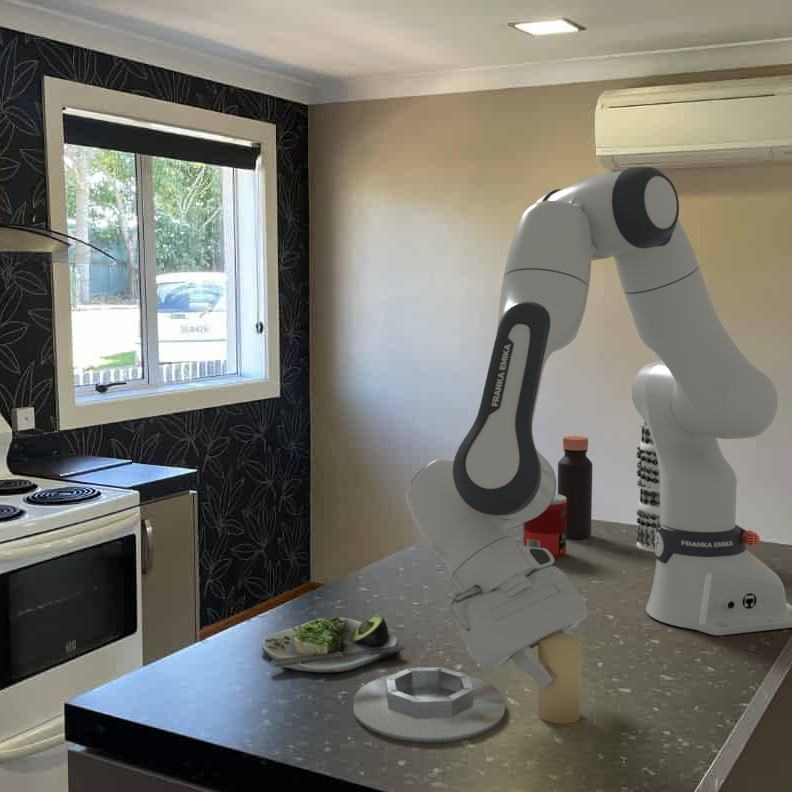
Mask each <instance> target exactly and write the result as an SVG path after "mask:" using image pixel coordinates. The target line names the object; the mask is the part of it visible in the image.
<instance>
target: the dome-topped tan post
mask: <svg viewBox="0 0 792 792" xmlns="http://www.w3.org/2000/svg"><path fill="white" fill-rule="evenodd" d="M582 651H583V640H582V639H581V638H580V637H578V636H577V635H575V634H574V635H570V634H564V633H553V634H551V635H549V636H547V637H545V638H543V639H541V640H539V641H538V646H537V654H538V655H537V657H538V658H537V661H539V662H540V663H541V664H542V665H543V666H544V667H546V666H548V665H549V667H550V668H551V669H552V672H553V673H554V674H555V675H556V680H555V681H554V682H552V683H551V684H550V685H548V686H547V687H545V688H540V687H539V685H538V684H537V717H539V719H541V720H542V721H545V722H546V723H550V724H555V725H568V724H569V725H570V724H573V723H576V722H578V721H579V720H580V719H581V716H582V714H581V713H582V711H581V710H582V666H583V665H582V657H583V656H582V655H583V654H582V653H583V652H582Z"/></svg>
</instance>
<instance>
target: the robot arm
mask: <svg viewBox="0 0 792 792" xmlns="http://www.w3.org/2000/svg"><path fill="white" fill-rule="evenodd" d="M679 214H680V201H679V197H678V193H677V190H676V188H675V186H674V183H673V182H672V181H671V180H670V178H669V177H668V176H667V175H665V174H664V172H663V171H661V170H660V169H658V168H656V167H651V166H632V167H627V168H626V169H624V170H619V171H614V172H606V173H602V174H598V175H593V176H590V177H587V178H586V179H584V180H582V181H579V182H577V183H573V184H571V185H569V186H566V187H564V188H562V189H561V188H559V189H554V190H552V191H550V192H547V193H546V194H545V195H543V196H541V197H540V198H539V199H537V201H535V202H534V203H533V204H532V205H531V206H529V207H528V208H527V209H526V210H525V211H524V212H523V214H522V215H521V217H520V219H519V221H518V224H517V227H516V229H515V233H514V235H513V237H512V241H511V244H510V248H509V251H508V255H507V260H506V264H505V268H504V274H503V278H502V285H501V291H500V297H499V299H500V300H499V306H498V307H499V308H498V318H497V320H498V321H497V328H496V335H495V341H494V343H493V349H492V352H491V357H490V361H489V366H488V369H487V373H486V380H485V383H484V387H483V392H482V397H481V401H480V406H479V408H478V413H477V416H476V418H475V420H474V422H473V424H472V426H471V428H470V429H469V431H468V433H467V434H466V435H465V437H464V438H463V440H462V441H461V443H460V445H459V447H458V448H457V452H456V454H455V457H454V458H446V457H440V458H436V459H434V460H432V461H431V462H429V463H428V464H426V465H425V466H423V468H421V469H420V470H419V471H418V473H417V474H416V475H415V476H414V477H413V478H412V480H411V482H410V484H409V487H408V489H407V491H406V492H407V493H406V503H407V507H408V510H409V513H410V514H411V517H412V519H413V520H414V522H415V524H416V526H417V528H418V530H419V532H420V533H421V534H422V536H423V537H424V539H425V540H426V542H427V543H428V545H429V547H430V548H431V549H432V551H433V552H434V553H435V554H436V555H438V556H439V557H440V558H441V559H442V560H443V562H444V563H445V565H446V567H447V569H448V573H449V576H450V577H451V579H452V581H453V582H454V583H455V585H456V586H457V588H458V589H459V591H460V592H456V593H455V594H453V595H452V596H450V597H451V600H450V603H449V608H448V609H449V612H450V614H451V616H452V617H453V619H454V620H455V625H456V628H457V630H458V633H459V635H460V637H461V639H462V641H463V643H464V645H465V647H466V649H467V650H468V652H469V653H470V655H471V658H472V659H473V660H474V662H475V663H476V665H477V666H478V667H480V668H481V669H483V670H484V671H486V672H489V671H491V670H494V669H495V668H498V667H499V666H501V665H502V664H505V663H506V662H509V661H510V660H512V661H513V663H514V665H515V666H516V667H517V668H518V669H519V670H521V671H522V672H524V673H525V674H527V675H528V676H530V677H531V678H532V679H533V680H534V681H535V683H536V685H537V686H538V685H539V687H540V688H545V687H547V686H548V685H550V684H551V683H552V682H554V681H555V680H556V675H555V674H554V673H553V672H552V669H551V668H550V667H549V665H548V666H546V667H544V666H543V665H542V664H541V663H540V662H539V661H538V659H536V658H535V657H534V656H535V652H534V650H533V649H534V648H536V647H538V641H539V640H541V639H543V638H545V637H547V636H549V635H551V634H553V633H564V634H570V635H574V636H575V634H574V632H573V630H572V629H573V628H574V627H576V626H577V625H579V623H582V621H584V619H585V618H587V617H588V615H589V613H588V612H589V611H588V608H587V603H586V601H585V600H584V599H583V597H582V596H581V594H580V593H579V591H578V590H577V589H576V587H575V585H574V584H573V583H572V582H571V580H570V579H569V578H568V577H567V575H566V574H565V573H564V572H563V571H562V570H561V569H560V568H558V567H557V566H555V565H554V566H553V563H555V560H556V559H554V557H553V556H552V554H551V553H550V552H549V551H548V550H547V549H545V548H535V547H528V546H524V545H523V544H520V543H519V544H516V543H515V541H514V540H513V538H512V537H511V536H510V534H509V531H510V530H513V529H516V528H518V527H520V526H522V525H524V523H526V522H528V521H530V520H532V519H534V518H536V517H537V516H539V515H540V514H542V513H543V512H544V511H545V510H546V509H547V508H548V507H549V506H550V504H551V502H552V501H553V498H554V496H555V494H556V491H557V479H556V474H555V471H554V468H553V467H552V465H551V463H550V462H549V461H548V460H547V459H546V458H545V457H544V456H543V455H542V454H541V452H539V451H538V450H537V447H536V445H535V441H534V435H533V422H534V419H535V417H534V416H535V412H536V406H537V403H538V398H539V393H540V388H541V387H540V386H541V382H542V378H543V374H544V369H545V366H546V363H547V361H548V359H549V358H550V356H551V355H552V354H553V353H554V352H557V351H559V350H561V349H563V348H565V347H567V346H568V345H569V344H571V343H572V342H573V341H574V340H575V339H576V337H577V335H578V332H579V330H580V328H581V324H582V321H583V318H584V315H585V312H586V311H585V310H586V307H587V302H588V297H589V290H590V281H591V271H592V261H599V260H604V259H609V258H612V257H613V259H614V263H615V267H616V270H617V273H618V274H617V275H618V278H619V281H620V284H621V288H622V290H623V293H624V297H625V299H626V301H627V305H628V308H629V311H630V314H631V317H632V319H633V322H634V324H635V328H636V331H637V334H638V336H639V338H640V340H641V341H642V342H643V343H644V345H645V346H646V347H648V348H649V349H650V350H651V351H653V353H655V354H656V355H657V356H658V358H660V360H655V361H651V362H649V363H647V364H645V365H644V366H642V368H640V370H639V371H638V372H637V374H636V375H635V377H634V378H633V381H632V382H633V383H632V386H631V398H632V403H633V405H634V408H635V409H636V411H637V412H638V414H640V416H641V418H642V419H643V420H644V423H645V422H646V424H647V426H648V429H649V432H650V435H651V438H652V441H653V445H654V448H655V452H656V456H657V461H658V467H659V477H660V514H659V520H658V521H657V523H656V533H655V552H654V553H655V558H656V563H655V572H654V577H653V582H652V588H651V591H650V593H649V599H648V602H647V604H646V607H645V611H646V613H647V614H648V615H649V616H650V617H652V618H653V619H655V620H657V621H659V622H662V623H665V624H668V625H671V626H676V627H680V628H685V629H691V630H695V631H699V632H703V633H705V634H708V635H713V636H725V635H735V634H742V633H743V634H744V633H745V634H746V633H754V632H762V631H771V630H779V629H788V628H792V605H791V604H790V603H788V602H787V597H786V591H785V586H784V583H783V582H782V579H781V578H780V577H779V576H778V574H777V573H776V572H774V571H773V569H771V568H770V567H768V566H767V565H766V564H765V563H764V562H763V561H761V560H760V559H759V558H758V557H756V556H755V555H754V554H752V553H751V552H750V551H748V549H747V547H746V546H747V545H748V546H750V547H756V546H758V545H759V544H760V541H761V536H760V535H759V534H758V533H757V532H754V531H753V530H750V529H749V530H746V529H744V528H743V527H740V526H739V525H737V524H736V514H737V513H736V511H737V509H736V508H737V486H738V485H737V484H738V481H737V480H738V479H737V475H736V473H735V470H734V469H733V467H732V466H731V464H729V462H728V461H727V459H725V457H724V455H723V453H722V450H721V448H720V446H719V442H718V439H723V440H739V439H749V438H754V437H757V436H760V435H761V434H763V433H764V432H766V431H767V430H768V429H769V427H770V426H771V425H772V423H773V421H774V419H775V418H776V415H777V411H778V406H779V398H778V392H777V389H776V386H775V384H774V382H773V381H772V380H771V378H770V377H769V376H768V375H766V373H764V372H762V371H761V370H759V369H758V368H757V367H756V366H755V365H753V363H752V362H750V361H749V359H747V358H746V356H744V354H743V353H742V351H741V350H740V348H739V347H738V346H737V344H736V343H735V342H734V341H733V339H732V338H731V336H730V335H729V333H728V331H727V330H726V328H725V327H724V326H723V324H722V322H721V320H720V318H719V317H718V315H717V313H716V311H715V308H714V305H713V303H712V301H711V297H710V294H709V292H708V288H707V286H706V283H705V281H704V277H703V274H702V271H701V268H700V265H699V262H698V259H697V257H696V254H695V251H694V249H693V246H692V244H691V241H690V239H689V237H688V235H687V232H686V231H685V229H684V227H683V225H682V223H681V221H680V220H679V216H680V215H679ZM585 663H586V662H585V659H584V656H582V666H583V665H585Z"/></svg>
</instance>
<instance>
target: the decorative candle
mask: <svg viewBox="0 0 792 792" xmlns="http://www.w3.org/2000/svg"><path fill="white" fill-rule="evenodd" d="M640 428H641V440H640V446H637V447H636V449H637V451H636V458H637V459H639V461H638V462H636V466H637V468H638V469H637V471H636V476H637V477H639V479H638V480H637V481H636V484H637V488H638V489H639V492H640V493H639V501H638V510H636V515H637V516H638V517H637V519H636V523H637V524H638V526H636V528H635V529H636V533H637V534H636V536H635V539H636V541H637V542H636V548H637V547H638V549H640V550H641V549H642V551H644V550H645V552H648V551H649V552H650V553H655V533H656V523H657V521H658V520H659V514H660V477H659V467H658V461H657V456H656V452H655V448H654V445H653V441H652V438H651V435H650V432H649V429H648V426H647V424H646V422H645V421H644V423H643V424H642V425H640Z"/></svg>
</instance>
